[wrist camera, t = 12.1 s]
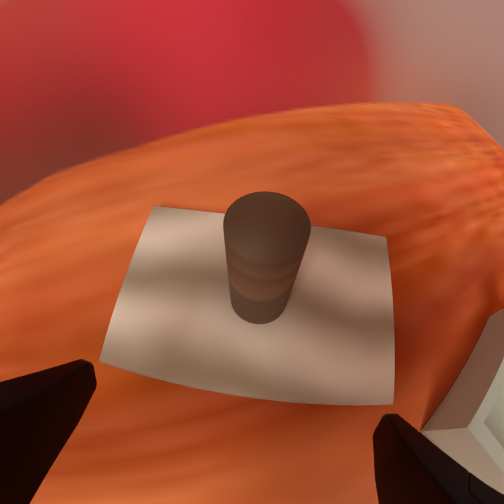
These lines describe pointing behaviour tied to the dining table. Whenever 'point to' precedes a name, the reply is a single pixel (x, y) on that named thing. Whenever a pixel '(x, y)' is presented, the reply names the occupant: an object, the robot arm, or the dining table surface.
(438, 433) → the grey rectangular tray
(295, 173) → the dining table surface
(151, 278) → the lid
